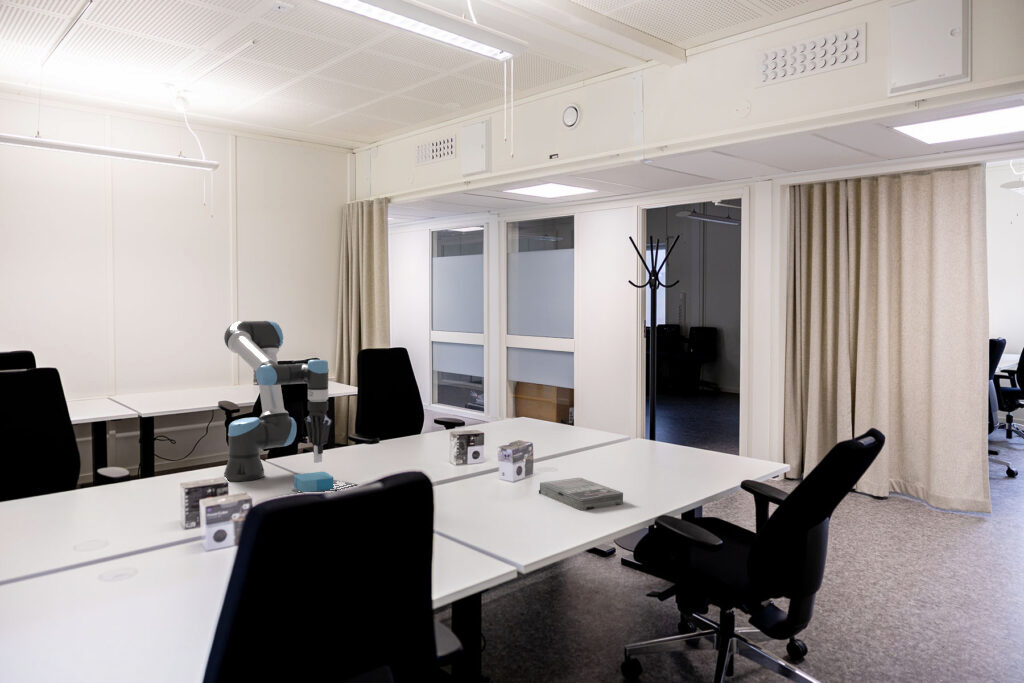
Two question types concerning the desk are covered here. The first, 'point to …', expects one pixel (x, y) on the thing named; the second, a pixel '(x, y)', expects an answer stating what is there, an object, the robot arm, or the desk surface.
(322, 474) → the data package
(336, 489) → the mat
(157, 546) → the desk surface
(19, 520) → the desk surface
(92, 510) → the desk surface
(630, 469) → the desk surface
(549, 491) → the grey flat block
